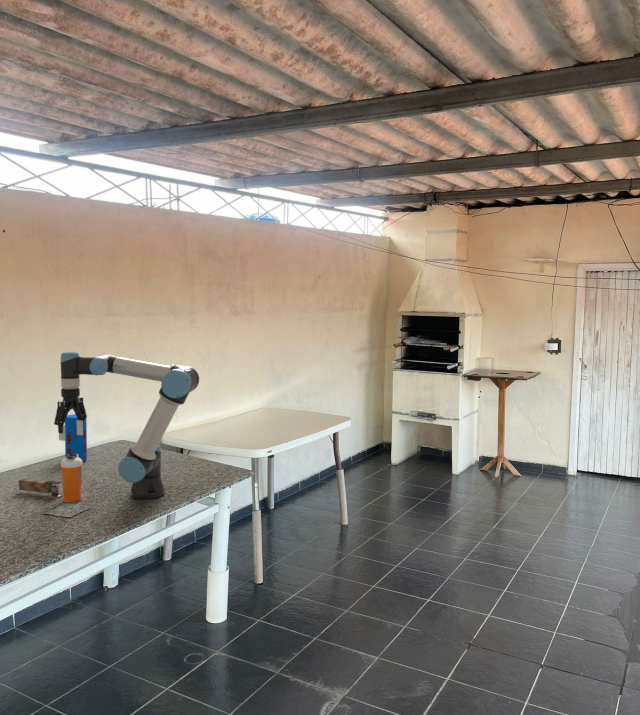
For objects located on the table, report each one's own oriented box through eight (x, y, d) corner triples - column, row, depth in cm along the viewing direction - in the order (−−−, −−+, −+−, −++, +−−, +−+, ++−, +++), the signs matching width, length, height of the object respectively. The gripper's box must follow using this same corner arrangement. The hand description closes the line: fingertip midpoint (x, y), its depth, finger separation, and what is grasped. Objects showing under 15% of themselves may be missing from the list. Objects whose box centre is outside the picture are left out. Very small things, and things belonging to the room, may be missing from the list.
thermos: (61, 462, 340) (60, 416, 338) (74, 458, 351) (73, 413, 348) (78, 464, 337) (77, 418, 335) (91, 460, 348) (90, 414, 345)
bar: (63, 492, 286) (63, 479, 285) (55, 495, 281) (55, 482, 281) (24, 487, 292) (24, 475, 291) (17, 490, 287) (16, 477, 287)
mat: (90, 508, 270) (90, 507, 270) (69, 518, 258) (69, 516, 258) (65, 504, 274) (65, 503, 274) (43, 514, 261) (43, 512, 261)
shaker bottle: (60, 503, 275) (59, 458, 273) (62, 497, 284) (61, 453, 282) (82, 502, 277) (81, 457, 275) (84, 496, 286) (83, 452, 284)
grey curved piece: (65, 495, 286) (65, 484, 286) (56, 499, 281) (55, 488, 280) (54, 493, 288) (54, 483, 288) (44, 497, 282) (44, 486, 282)
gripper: (80, 383, 288) (81, 431, 290) (44, 390, 266) (45, 442, 268) (94, 384, 286) (95, 432, 288) (58, 391, 263) (59, 443, 266)
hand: (71, 437), depth 278 cm, fingers open, 11 cm apart
